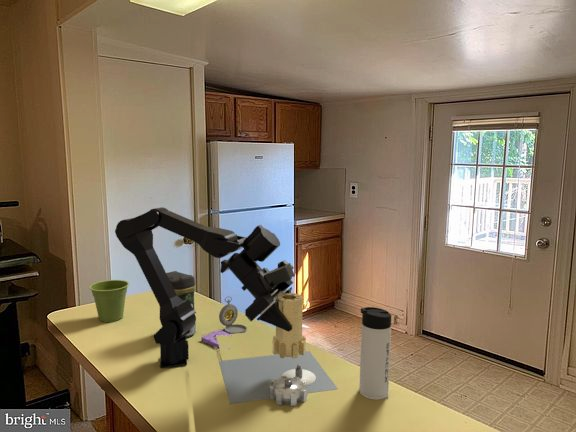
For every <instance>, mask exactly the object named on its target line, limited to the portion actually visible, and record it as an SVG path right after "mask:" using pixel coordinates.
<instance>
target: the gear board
mask: <svg viewBox="0 0 576 432" xmlns="http://www.w3.org/2000/svg"><path fill="white" fill-rule="evenodd" d="M218 363H219V367H220V369H221V374H222V378H223V382H224V385H225V388H226V389H225V390H226V393H227V396H228V400H229V404H230V405H233V404H239V403H247V402H254V401H261V400H262V401H263V400H267V399H270V398H269V386H271V381H272V380H273V379H275V380H278V379H281V376H287V378H294V377H299V378H300V381H302V382H306V383H307V384H308V385H307V394H312V393H319V392H328V391H334V390H338V389H339V388H338V387H337V385H336V384H335V383H334V381H333V380H332V379H331V377H330V376H329V375H328V374H327V372H326V371H325V370H324V368H323V367H322V365H321V364H320V363H319V361H318V360H317V359H316V357H315V356H314V354H313V353H312V352H311V351H310V350H307V351H305V354H304V355H298V356H297V358H294V359H293V358H292V357H285V358H280V355H278V354H275V355H274V354H268V355H260V356H254V357H253V356H251V357H241V358H233V359H225V360H219V361H218Z"/></svg>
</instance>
